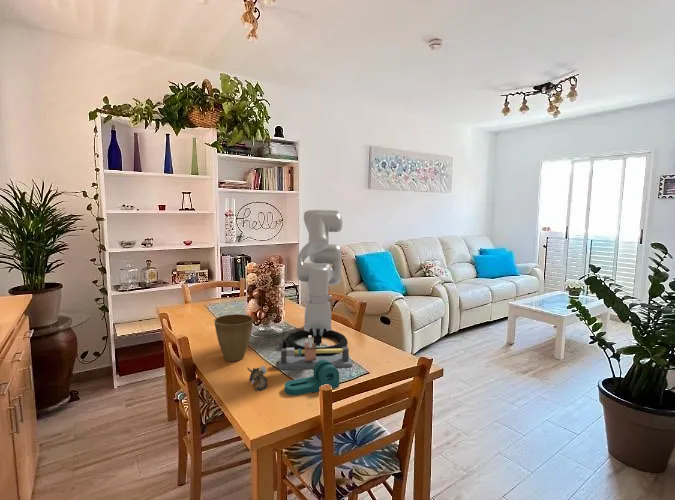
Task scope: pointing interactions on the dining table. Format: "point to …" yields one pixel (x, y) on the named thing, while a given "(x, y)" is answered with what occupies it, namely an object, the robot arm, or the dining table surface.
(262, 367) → the grey furry figure
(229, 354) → the plant pot
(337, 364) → the linear slide rail
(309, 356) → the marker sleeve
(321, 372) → the bracket
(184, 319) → the dining table surface
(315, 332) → the robot arm
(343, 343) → the cable lock
